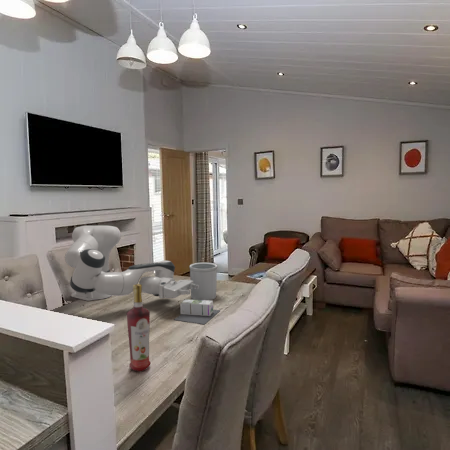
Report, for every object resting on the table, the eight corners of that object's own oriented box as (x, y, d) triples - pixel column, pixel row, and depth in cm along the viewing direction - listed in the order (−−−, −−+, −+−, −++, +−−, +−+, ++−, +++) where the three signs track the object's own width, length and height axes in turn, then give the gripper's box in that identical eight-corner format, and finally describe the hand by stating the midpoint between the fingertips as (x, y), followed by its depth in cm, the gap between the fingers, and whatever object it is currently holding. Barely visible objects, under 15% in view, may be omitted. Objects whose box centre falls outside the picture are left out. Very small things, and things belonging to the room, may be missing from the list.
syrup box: (180, 314, 164) (210, 317, 161) (180, 302, 163) (210, 304, 160) (184, 310, 169) (213, 312, 166) (184, 298, 168) (213, 300, 166)
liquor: (133, 376, 111) (130, 289, 108) (125, 366, 117) (122, 284, 114) (155, 369, 115) (152, 285, 112) (146, 360, 121) (143, 281, 118)
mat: (174, 320, 158) (174, 319, 158) (192, 307, 174) (192, 306, 174) (204, 324, 152) (204, 323, 152) (220, 310, 169) (220, 310, 169)
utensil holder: (221, 299, 187) (221, 266, 185) (194, 302, 181) (193, 269, 179) (212, 291, 200) (211, 261, 198) (186, 294, 195) (186, 263, 193)
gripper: (178, 287, 183) (202, 290, 178) (157, 299, 164) (184, 302, 159) (178, 276, 182) (202, 278, 178) (157, 285, 163) (184, 288, 158)
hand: (193, 289), depth 168 cm, fingers open, 8 cm apart
